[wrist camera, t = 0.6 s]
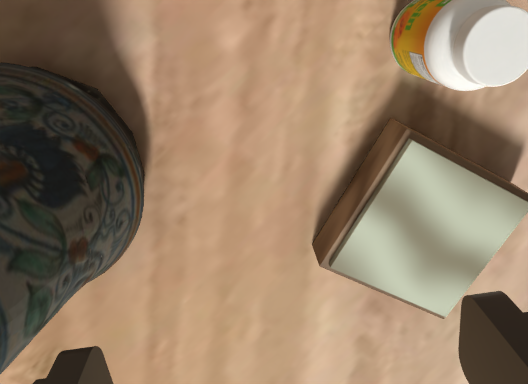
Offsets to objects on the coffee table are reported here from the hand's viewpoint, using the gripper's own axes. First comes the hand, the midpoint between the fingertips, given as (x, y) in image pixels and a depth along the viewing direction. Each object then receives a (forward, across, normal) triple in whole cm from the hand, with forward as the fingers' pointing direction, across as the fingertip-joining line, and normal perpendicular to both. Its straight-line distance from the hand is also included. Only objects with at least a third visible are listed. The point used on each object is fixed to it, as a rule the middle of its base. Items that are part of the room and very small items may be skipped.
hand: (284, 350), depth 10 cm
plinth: (+25, -12, +11) cm, 30 cm away
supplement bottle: (+25, -13, -3) cm, 29 cm away
